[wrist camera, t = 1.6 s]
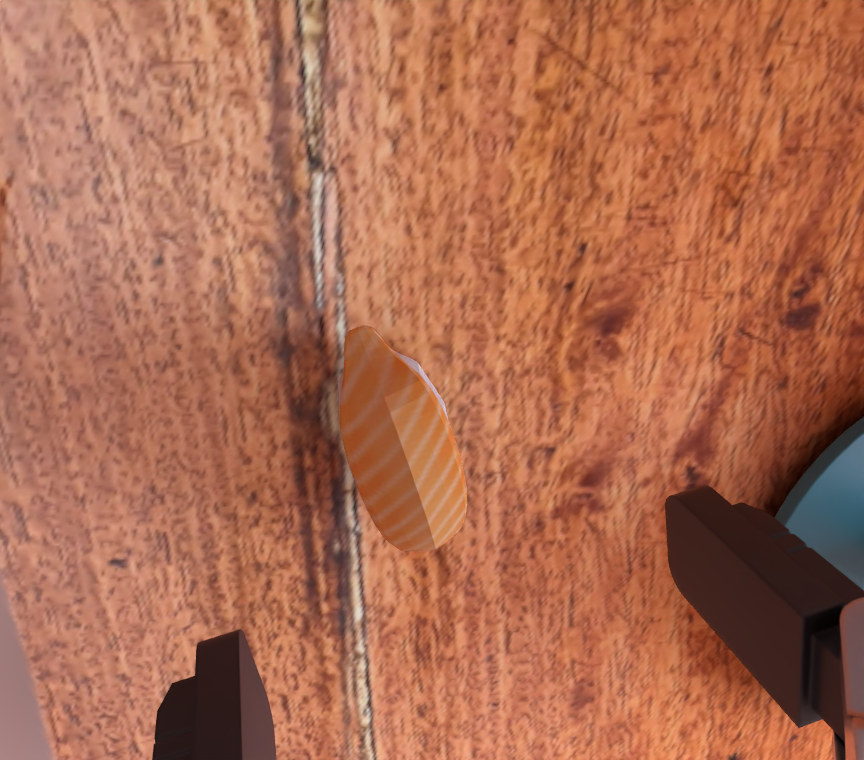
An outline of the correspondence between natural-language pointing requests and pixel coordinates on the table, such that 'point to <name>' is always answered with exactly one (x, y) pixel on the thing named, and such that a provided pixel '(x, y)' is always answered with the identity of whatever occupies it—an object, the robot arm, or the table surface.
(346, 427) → the sushi
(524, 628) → the table surface
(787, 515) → the lid
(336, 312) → the table surface
